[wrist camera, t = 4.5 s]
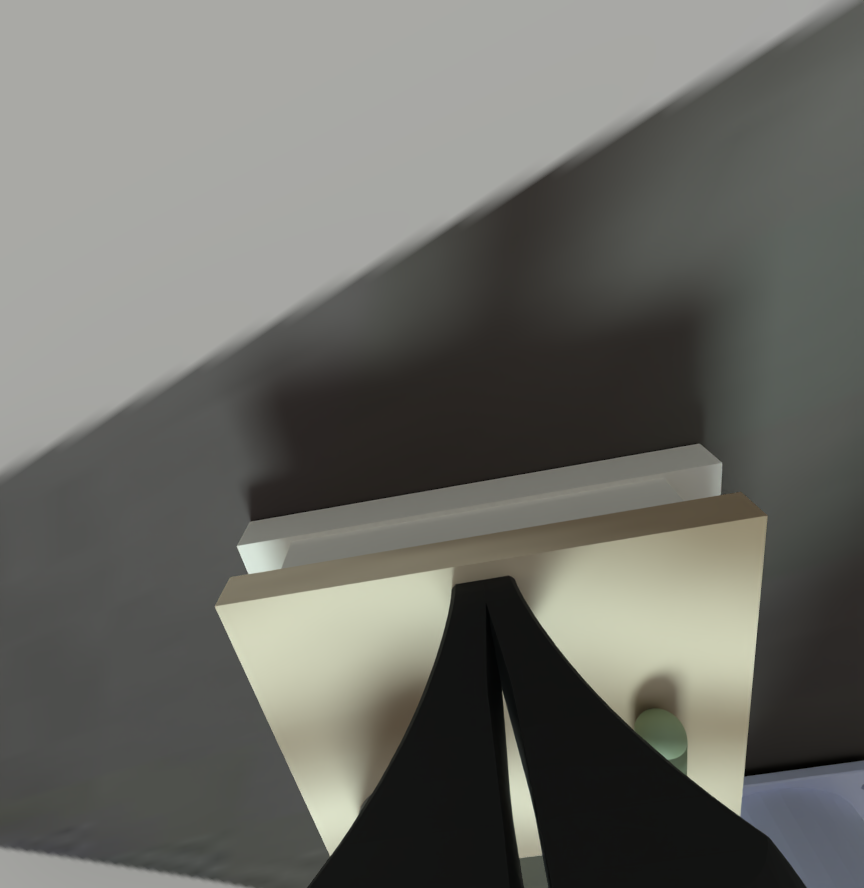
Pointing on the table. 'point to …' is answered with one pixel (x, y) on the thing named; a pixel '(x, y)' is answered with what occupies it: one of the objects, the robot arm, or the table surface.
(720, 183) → the table surface
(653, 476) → the stand
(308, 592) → the plate
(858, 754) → the table surface
